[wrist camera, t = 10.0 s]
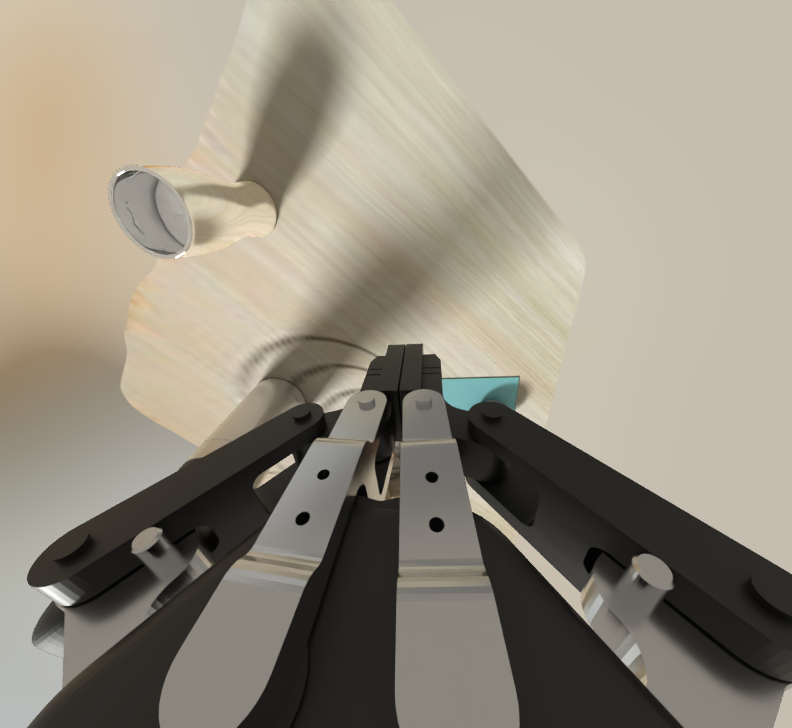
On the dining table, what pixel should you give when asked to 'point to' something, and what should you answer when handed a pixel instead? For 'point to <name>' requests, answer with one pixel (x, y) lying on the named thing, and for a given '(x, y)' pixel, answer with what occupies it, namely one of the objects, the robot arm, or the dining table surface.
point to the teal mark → (480, 391)
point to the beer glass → (186, 210)
